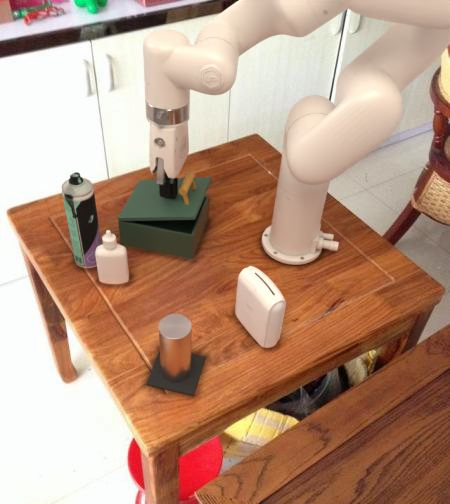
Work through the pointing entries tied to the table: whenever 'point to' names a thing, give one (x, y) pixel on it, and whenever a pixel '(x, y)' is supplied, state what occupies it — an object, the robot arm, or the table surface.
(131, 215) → the lid
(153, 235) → the chest
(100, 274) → the eye dropper bottle
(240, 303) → the photo printer
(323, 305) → the table surface
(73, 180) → the spray can
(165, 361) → the tin can
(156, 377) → the coaster
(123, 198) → the table surface
